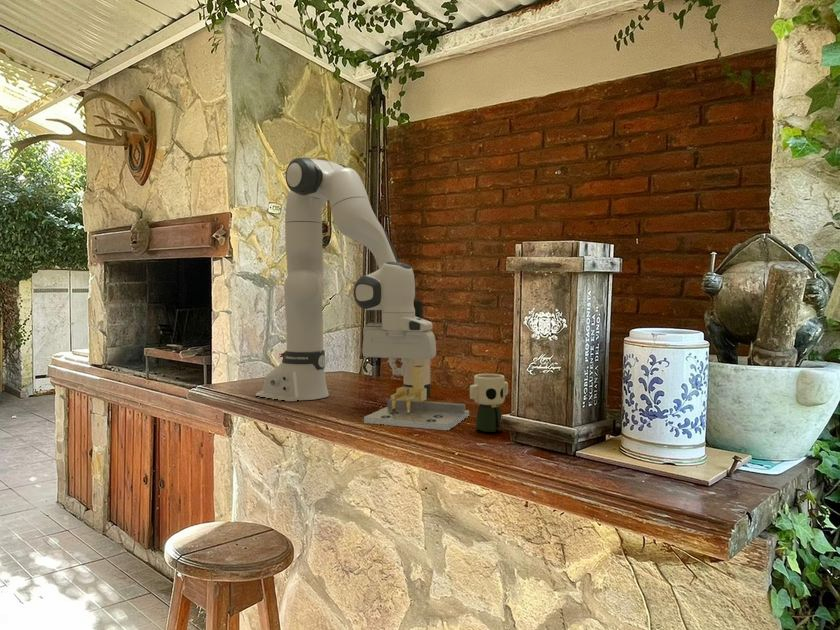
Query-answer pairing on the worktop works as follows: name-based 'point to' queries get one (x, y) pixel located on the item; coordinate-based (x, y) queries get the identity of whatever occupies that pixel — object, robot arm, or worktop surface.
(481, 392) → the character mug
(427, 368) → the wine bottle
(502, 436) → the worktop surface
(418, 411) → the flange plate
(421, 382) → the sliding leg
